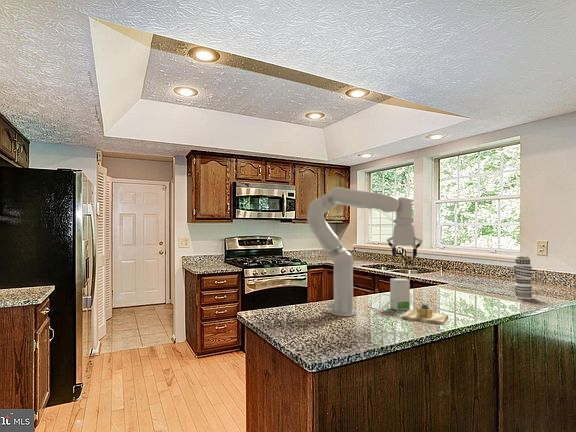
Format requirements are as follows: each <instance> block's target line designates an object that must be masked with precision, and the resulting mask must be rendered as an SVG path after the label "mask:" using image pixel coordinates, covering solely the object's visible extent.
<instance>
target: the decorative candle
mask: <svg viewBox="0 0 576 432" xmlns="http://www.w3.org/2000/svg"><path fill="white" fill-rule="evenodd" d="M514 259H515V260H514V262H515V263H514V265H513V267H514V270H513V271H514V279H515V285H514V290H515V291H514V295H515V298H517V299H521V300H532V299H533V298H532V297H533V292H532V291H533V289H532V288H533V286H532V283H531V282H532V281H531V280H532V278H533V276H532V274H533V273H532V271H533V267H532V264H531V258H530V257H529V256H528V255H517V256H516V257H515V258H514Z"/></svg>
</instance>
